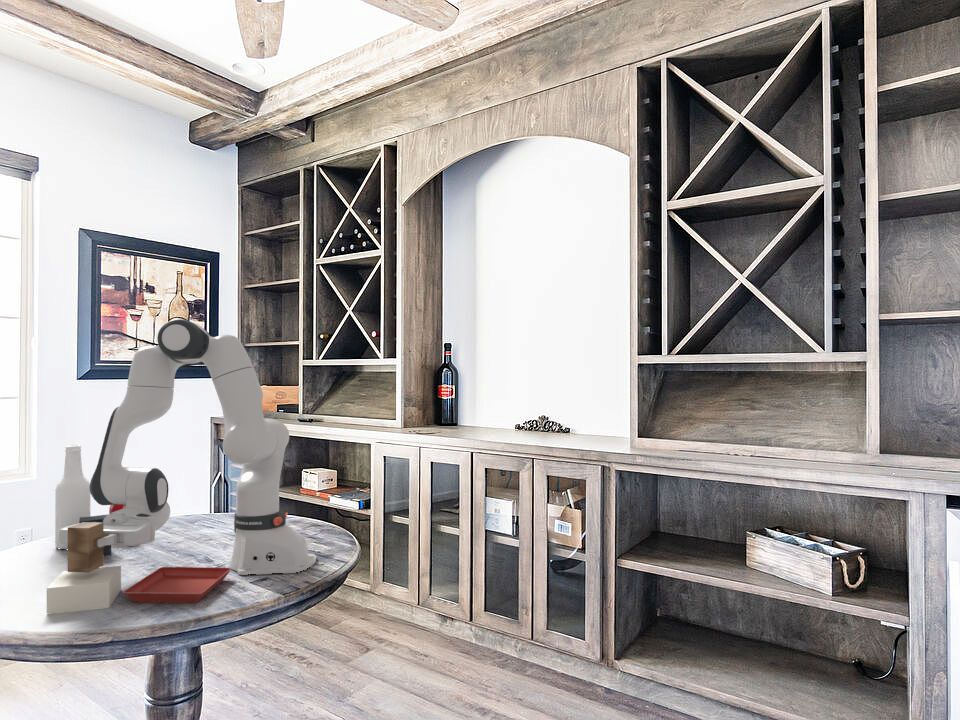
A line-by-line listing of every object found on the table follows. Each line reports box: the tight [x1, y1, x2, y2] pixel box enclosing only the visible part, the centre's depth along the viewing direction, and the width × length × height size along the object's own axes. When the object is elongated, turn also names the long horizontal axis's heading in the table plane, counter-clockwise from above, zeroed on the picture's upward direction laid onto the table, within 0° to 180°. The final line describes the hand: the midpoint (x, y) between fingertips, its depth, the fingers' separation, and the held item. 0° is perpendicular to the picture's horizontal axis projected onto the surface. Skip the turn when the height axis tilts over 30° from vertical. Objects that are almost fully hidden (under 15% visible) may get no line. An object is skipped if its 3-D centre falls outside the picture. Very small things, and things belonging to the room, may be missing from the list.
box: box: [79, 513, 112, 556], centre depth 181 cm, size 8×6×11 cm
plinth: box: [46, 565, 122, 614], centre depth 146 cm, size 12×12×6 cm
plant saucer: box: [123, 566, 232, 604], centre depth 152 cm, size 18×18×3 cm
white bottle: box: [54, 444, 91, 549], centre depth 189 cm, size 9×9×30 cm
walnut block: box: [67, 522, 104, 573], centre depth 146 cm, size 5×5×10 cm
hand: (83, 543), depth 145 cm, fingers closed on walnut block, 5 cm apart
